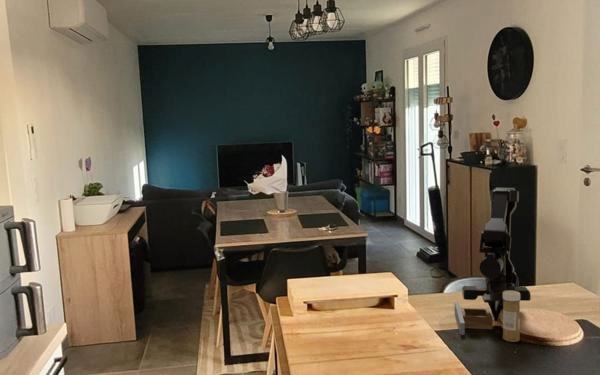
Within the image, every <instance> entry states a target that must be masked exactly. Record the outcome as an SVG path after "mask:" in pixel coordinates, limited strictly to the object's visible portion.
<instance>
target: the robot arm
mask: <svg viewBox="0 0 600 375" xmlns="http://www.w3.org/2000/svg"><path fill="white" fill-rule="evenodd" d="M489 194H490V195H489V197H490V202H492V207H491V215H490V220H489V221H488V222H486V223H485V224H484V228H483V230H481V233H480V240H479V241H480V242H479V251H478V252H479V254H481V253H482V254H484V258H483V259H482V260H481V262H480V264H479V271H480V273H481V275H482V276H484V284H485V286H484V288H485V289H477V288H478V287H477V286H476V285H464V286H462V288H461V295H462V298H463V300H465V301H475V300H476V299H478V298H479V297H481V298H482V300H483V302H484V303H487V304H488V305H489V310H490V313H491V315H492V317H493V320H494V322H495V323H496V322H498V320H499V317H500V314H501V312H502V311H503V292H504V291H508V290H511V291H517V292H519V293H520V302H521V301H523V302H525V301H526V302H527V301H531V300H532V298H531V292H530V290H529V289H528V288H527V287H526V286H519V276H517V273H516V272H515V266H514V264H513V263H512V261H511V260H510V258H511V257H510V255H511V245H512V244H511V243H512V236H511V228H512V227H511V226H512V223H511V222H512V214H513V213H514V212H515V210H516V209H517V203H519V199H520V191H519V190H516V187H495V188H494V189H493V190H492V189H491V190H490V193H489Z"/></svg>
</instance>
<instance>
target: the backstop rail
mask: <svg viewBox="0 0 600 375" xmlns="http://www.w3.org/2000/svg"><path fill="white" fill-rule="evenodd" d="M460 306H461V305H460V303H459V302H458V301H454V317H455V320H456V324H457V327H458V332H459V335H461V336H464V335H465V334H466V333H465V332H466V328H465V322H464V319H463V316H462V312H461V309H460V308H461V307H460Z"/></svg>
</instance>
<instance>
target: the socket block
mask: <svg viewBox="0 0 600 375" xmlns="http://www.w3.org/2000/svg"><path fill="white" fill-rule="evenodd" d="M460 309H461V312H462V316H463V319H464V322H465V329H476V330H477V329H479V330H493V328H494V327H493V326H494V324H493V322H494V321H493V320H494V318H493V315H492V312H491V310H490V308H480V307H479V308H478V307H460Z"/></svg>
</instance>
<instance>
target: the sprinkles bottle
mask: <svg viewBox="0 0 600 375" xmlns="http://www.w3.org/2000/svg"><path fill="white" fill-rule="evenodd" d="M520 302H521V301H520V293H519V292H517V291H511V290H508V291H504V292H503V309H502V339H503V340H505V341H506V342H511V343H517V342H519V341H520V340H521V336H520V335H521V334H520V328H521V318H520V317H521V316H520V315H521V314H520V310H521V308H520Z"/></svg>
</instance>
